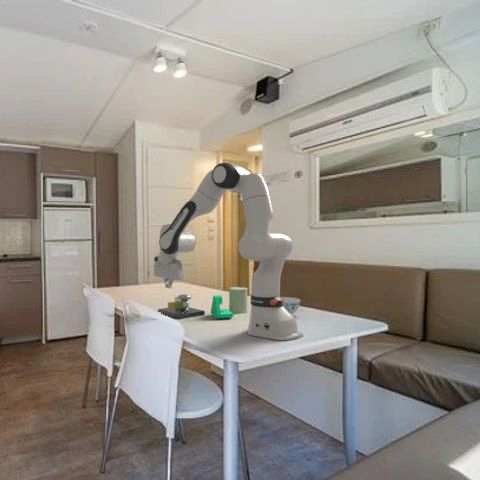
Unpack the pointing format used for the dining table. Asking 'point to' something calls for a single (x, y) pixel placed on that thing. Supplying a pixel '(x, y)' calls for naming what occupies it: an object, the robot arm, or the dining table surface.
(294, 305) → the chinaware
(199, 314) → the base
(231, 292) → the can
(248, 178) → the robot arm
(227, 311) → the camera mount
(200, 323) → the dining table surface
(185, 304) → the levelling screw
